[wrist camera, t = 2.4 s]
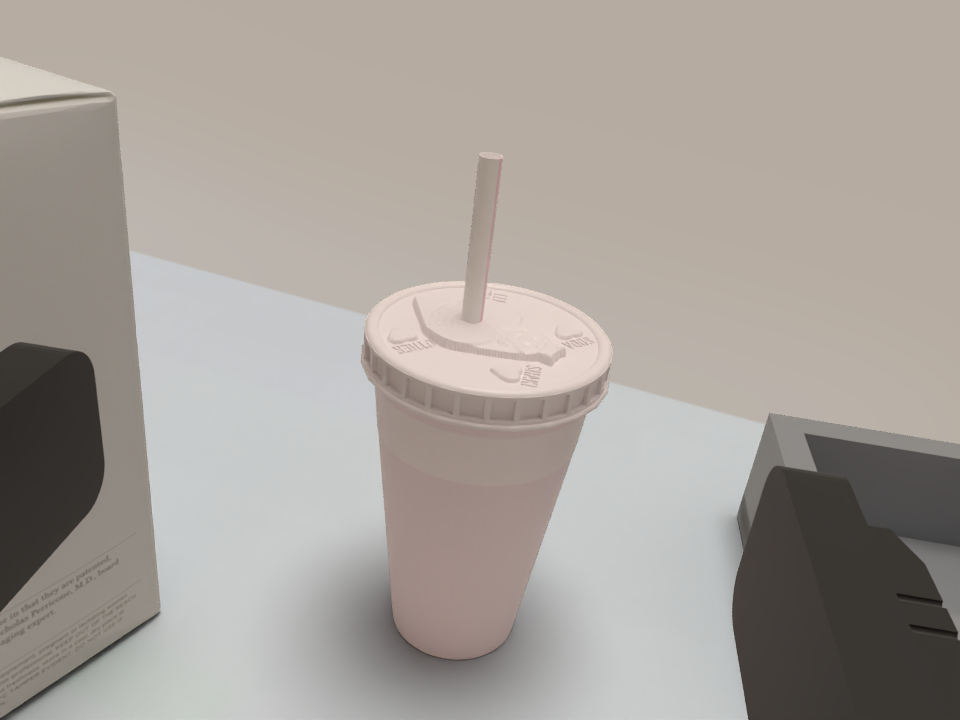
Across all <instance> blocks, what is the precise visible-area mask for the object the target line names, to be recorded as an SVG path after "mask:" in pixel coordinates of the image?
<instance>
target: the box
mask: <svg viewBox="0 0 960 720" xmlns="http://www.w3.org/2000/svg"><path fill="white" fill-rule="evenodd" d="M774 466H784V467H791V468H797V469H803V470H809V471H815V472H822V473H828V474H834V475H840V476H844V477H846V478H847V479H848V481H849V483H850V484H851V487H852V489H853V492H854V494H855V496H856V499H857V501H858V504H859V506H860V508H861V511H862V513H863V515H864V518H865V520H866V523H867V525H868V526H874V527H880V528H886V529H891V530H892V531H893V532H894V533H895V534H896V535H897V536H898V537H899V538H900V539H901V540H902V541H903V542H904V543H905V544H906V545H907V546H908V547H909V548H910V549H911V550H912V551H913V552H914V553H915V554H916V555H917V556H918V557H919V558H920V559H921V560H922V561H923V562H924V563H925V565H926V567H927V569H928V571H929V573H930V575H931V577H932V579H933V581H934V583H935V585H936V587H937V589H938V591H939V594H940V596H941V598H942V600H943V603H942V607H943V608H946V609H947V610H948V612H949V614H950V616H951V618H952V620H953V623H954V625H955V627H956V629H957V631H958V640H960V444H955V443H949V442H942V441H936V440H930V439H924V438H918V437H912V436H906V435H900V434H894V433H888V432H882V431H876V430H870V429H863V428H857V427H851V426H845V425H839V424H833V423H827V422H821V421H815V420H808V419H802V418H796V417H791V416H785V415H778V414H772V413H769V416H768V419H767V422H766V425H765V429H764V432H763V435H762V438H761V441H760V444H759V448H758V451H757V454H756V457H755V460H754V463H753V467H752V470H751V473H750V476H749V479H748V482H747V486H746V489H745V492H744V495H743V498H742V501H741V505H740V508H739V511H738V514H737V517H738V522H739V527H740V532H741V537H742V542H743V547H744V549H745V546H746V543H747V539H748V536H749V533H750V530H751V526H752V523H753V520H754V517H755V513H756V510H757V507H758V504H759V501H760V497H761V494H762V491H763V488H764V484H765V482H766V479H767V477H768V474H769V473H770V471H771V469H772V468H773V467H774Z"/></svg>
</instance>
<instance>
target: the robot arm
mask: <svg viewBox="0 0 960 720" xmlns="http://www.w3.org/2000/svg"><path fill="white" fill-rule="evenodd" d="M104 470H105V460H104V451H103V442H102V433H101V424H100V415H99V407H98V398H97V389H96V380H95V373H94V368H93V364H92V362H91V360H90V358H89V357H88V356H87V355H86V354H85V353H83V352H80V351H75V350H69V349H62V348H56V347H50V346H44V345H38V344H31V343H25V342H17V343H14V344H12V345H10V346H8V347H7V348H5V349H4V350H3V351H1V352H0V612H1V611H2V610H3V609H4V608H5V607H6V606H7V604H8V603H9V602H10V601H11V600H12V599H13V598H14V597H15V595H16V594H17V593H18V592H19V591H20V590H21V589H22V588H23V586H24V585H25V584H26V583H27V582H28V581H29V580H30V579H31V577H32V576H33V575H34V574H35V573H36V572H37V571H38V570H39V568H40V567H41V566H42V565H43V564H44V563H45V562H46V561H47V559H48V558H49V557H50V556H51V555H52V554H53V553H54V552H55V550H56V549H57V548H58V547H59V546H60V545H61V544H62V543H63V541H64V540H65V539H66V538H67V537H68V536H69V535H70V534H71V532H72V531H73V530H74V529H75V528H76V527H77V526H78V525H79V523H80V522H81V521H82V520H83V519H84V518H85V517H86V516H87V514H88V513H89V512H90V511H91V509H92V507H93V506H94V504H95V502H96V500H97V498H98V495H99V493H100V490H101V487H102V483H103V478H104ZM942 603H943V600H942V598H941V596H940V594H939V591H938V589H937V587H936V585H935V583H934V581H933V579H932V577H931V575H930V573H929V571H928V569H927V567H926V565H925V563H924V562H923V561H922V560H921V559H920V558H919V557H918V556H917V555H916V554H915V553H914V552H913V551H912V550H911V549H910V548H909V547H908V546H907V545H906V544H905V543H904V542H903V541H902V540H901V539H900V538H899V537H898V536H897V535H896V534H895V533H894V532H893V531H892V530H891V529H886V528H880V527H874V526H868V525H867V523H866V520H865V518H864V515H863V513H862V511H861V508H860V506H859V504H858V501H857V499H856V496H855V494H854V492H853V489H852V487H851V484H850V483H849V481H848V479H847V478H846V477H844V476H840V475H834V474H828V473H822V472H815V471H809V470H803V469H797V468H791V467H784V466H774V467H773V468H772V469H771V471H770V473H769V474H768V477H767V479H766V482H765V484H764V488H763V491H762V494H761V497H760V501H759V504H758V507H757V510H756V513H755V517H754V520H753V523H752V526H751V530H750V533H749V536H748V539H747V543H746V546H745V549H744V552H743V556H742V559H741V562H740V565H739V568H738V572H737V576H736V581H735V586H734V594H733V607H732V619H733V630H734V636H735V642H736V648H737V654H738V660H739V666H740V672H741V678H742V684H743V690H744V696H745V702H746V708H747V714H748V719H749V720H960V640H958V631H957V629H956V627H955V625H954V623H953V620H952V618H951V616H950V614H949V612H948V610H947V609H946V608H943V607H942Z"/></svg>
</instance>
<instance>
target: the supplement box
mask: <svg viewBox="0 0 960 720" xmlns="http://www.w3.org/2000/svg"><path fill="white" fill-rule="evenodd" d="M123 185H124V184H123V173H122V163H121V154H120V144H119V130H118V117H117V101H116V96H115V94H114V93H113V92H112V91H109V90H105V89H102V88H98V87H95V86H92V85H89V84H85V83H82V82H79V81H76V80H73V79H69V78H66V77H63V76H60V75H57V74H53V73H50V72H47V71H44V70H40V69H38V68H35V67H31V66H28V65H25V64H22V63H19V62H16V61H13V60H9V59H6V58H3V57H0V352H1V351H3V350H4V349H5V348H7V347H8V346H10V345H12V344H14V343H17V342H25V343H31V344H38V345H44V346H50V347H56V348H62V349H69V350H75V351H80V352H83V353H85V354H86V355H87V356H88V357H89V358H90V360H91V362H92V364H93V368H94V373H95V380H96V389H97V398H98V407H99V415H100V424H101V433H102V442H103V451H104V460H105V470H104V478H103V483H102V487H101V490H100V493H99V495H98V498H97V500H96V502H95V504H94V506H93V507H92V509H91V511H90V512H89V513H88V514H87V516H86V517H85V518H84V519H83V520H82V521H81V522H80V523H79V525H78V526H77V527H76V528H75V529H74V530H73V531H72V532H71V534H70V535H69V536H68V537H67V538H66V539H65V540H64V541H63V543H62V544H61V545H60V546H59V547H58V548H57V549H56V550H55V552H54V553H53V554H52V555H51V556H50V557H49V558H48V559H47V561H46V562H45V563H44V564H43V565H42V566H41V567H40V568H39V570H38V571H37V572H36V573H35V574H34V575H33V576H32V577H31V579H30V580H29V581H28V582H27V583H26V584H25V585H24V586H23V588H22V589H21V590H20V591H19V592H18V593H17V594H16V595H15V597H14V598H13V599H12V600H11V601H10V602H9V603H8V604H7V606H6V607H5V608H4V609H3V610H2V611H1V612H0V718H1V717H3V716H4V715H6V714H7V713H9V712H10V711H12V710H13V709H15V708H16V707H18V706H19V705H21V704H22V703H24V702H25V701H27V700H28V699H30V698H31V697H33V696H34V695H36V694H37V693H39V692H40V691H42V690H43V689H45V688H46V687H48V686H49V685H51V684H52V683H54V682H55V681H57V680H58V679H60V678H61V677H63V676H64V675H66V674H67V673H69V672H70V671H72V670H73V669H75V668H76V667H78V666H79V665H81V664H82V663H84V662H85V661H87V660H88V659H89V658H91V657H92V656H94V655H95V654H97V653H98V652H100V651H101V650H103V649H104V648H106V647H107V646H109V645H110V644H112V643H113V642H115V641H116V640H118V639H119V638H121V637H122V636H124V635H125V634H127V633H128V632H130V631H131V630H133V629H134V628H136V627H137V626H139V625H140V624H142V623H143V622H145V621H146V620H148V619H150V618H151V617H153V616H154V615H156V614H157V613H158V612H159V610H160V598H159V586H158V574H157V563H156V553H155V541H154V528H153V519H152V507H151V495H150V483H149V472H148V461H147V450H146V438H145V427H144V415H143V403H142V392H141V381H140V370H139V359H138V346H137V338H136V325H135V313H134V300H133V288H132V277H131V266H130V254H129V243H128V232H127V221H126V208H125V197H124V186H123Z"/></svg>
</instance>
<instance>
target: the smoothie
mask: <svg viewBox="0 0 960 720" xmlns="http://www.w3.org/2000/svg"><path fill="white" fill-rule="evenodd" d="M502 161H503V156H502V155H500V154H496V153H490V152H483V153H480V154H479V162H478V171H477V180H476V189H475V199H474V208H473V216H472V226H471V234H470V244H469V252H468V261H467V271H466V279H465V281H446V282H437V283H428V284H423V285H419V286H415V287H410V288H407V289H404V290H401V291H399V292H396V293H393V294H392V295H390V296H388V297H387V298H385V299H383V300H381V301H380V302H379V303H378V304H377V305H375V306H374V307H373V309H372V310H371V311H370V312H369V314H368V315H367V318H366V320H365V326H364V344H363V345H362V354H361V364H362V366H363V368H364V371H365V373H366V375H367V377H368V380H369V381H370V382H371V383H372V384H373V385H374V386H375V395H376V412H377V426H378V433H379V446H380V459H381V471H382V484H383V497H384V509H385V522H386V535H387V547H388V560H389V573H390V585H391V598H392V611H393V619H394V622H395V625H396V627H397V629H398V631H399V632H400V634H401V635H402V636H403V637H404V639H406V640H407V641H408V642H409V643H410V644H411V645H412V646H414V647H415V648H417V649H419V650H421V651H422V652H425V653H427V654H429V655H432V656H436V657H439V658H445V659H454V660H462V659H471V658H476V657H480V656H483V655H485V654H488V653H490V652H492V651H493V650H495V649H496V648H498V647H499V646H500V645H501V644H502V643H503V642H504V641H505V640H506V639H507V637H508V636H509V634H510V632H511V629H512V626H513V623H514V621H515V618H516V615H517V612H518V609H519V606H520V603H521V601H522V598H523V595H524V592H525V589H526V586H527V583H528V581H529V578H530V575H531V572H532V569H533V566H534V563H535V560H536V558H537V555H538V552H539V549H540V546H541V543H542V540H543V538H544V535H545V532H546V529H547V526H548V523H549V520H550V518H551V515H552V512H553V509H554V506H555V503H556V500H557V497H558V495H559V492H560V489H561V486H562V483H563V480H564V477H565V475H566V472H567V469H568V466H569V463H570V460H571V457H572V455H573V452H574V450H575V447H576V444H577V441H578V438H579V435H580V432H581V429H582V426H583V423H584V420H585V417H586V414H587V413H589V412H590V411H592V410H594V409H595V408H597V406H598V405H599V404H600V402H601V401H602V400H603V398H604V397H605V396H606V394H607V393H608V386H609V369H610V364H611V360H612V346H611V343H610V340H609V338H608V337H607V335H606V333H605V332H604V331H603V330H602V328H601V327H599V325H598V324H597V323H596V322H595V321H594V320H592V319H591V318H590V317H588V316H587V315H586V314H584V313H583V312H582V311H580V310H578V309H576V308H574V307H573V306H571V305H569V304H567V303H565V302H563V301H560V300H558V299H556V298H553V297H551V296H548V295H545V294H542V293H539V292H535V291H532V290H529V289H524V288H520V287H515V286H511V285H505V284H497V283H489V282H488V274H489V266H490V258H491V250H492V242H493V233H494V226H495V217H496V209H497V202H498V194H499V185H500V177H501V169H502Z"/></svg>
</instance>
